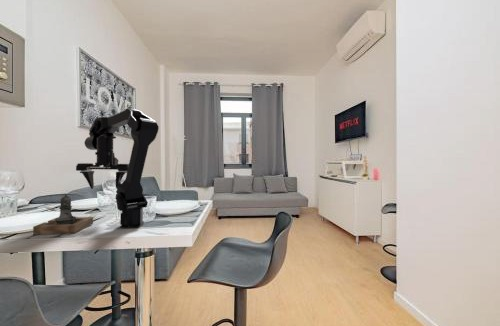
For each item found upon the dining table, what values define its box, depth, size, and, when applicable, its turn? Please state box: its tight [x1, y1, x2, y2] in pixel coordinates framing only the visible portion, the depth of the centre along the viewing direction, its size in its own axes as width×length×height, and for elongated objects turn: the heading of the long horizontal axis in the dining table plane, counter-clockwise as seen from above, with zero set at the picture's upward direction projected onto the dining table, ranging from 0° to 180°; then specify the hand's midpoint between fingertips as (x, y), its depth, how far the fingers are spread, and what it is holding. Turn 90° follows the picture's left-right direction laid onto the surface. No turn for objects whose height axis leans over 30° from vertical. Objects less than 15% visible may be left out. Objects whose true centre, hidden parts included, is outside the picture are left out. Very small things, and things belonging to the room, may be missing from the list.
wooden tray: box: [32, 216, 94, 236], centre depth 84 cm, size 12×12×2 cm
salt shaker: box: [54, 193, 77, 224], centre depth 84 cm, size 6×6×12 cm
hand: (104, 188), depth 98 cm, fingers open, 9 cm apart
